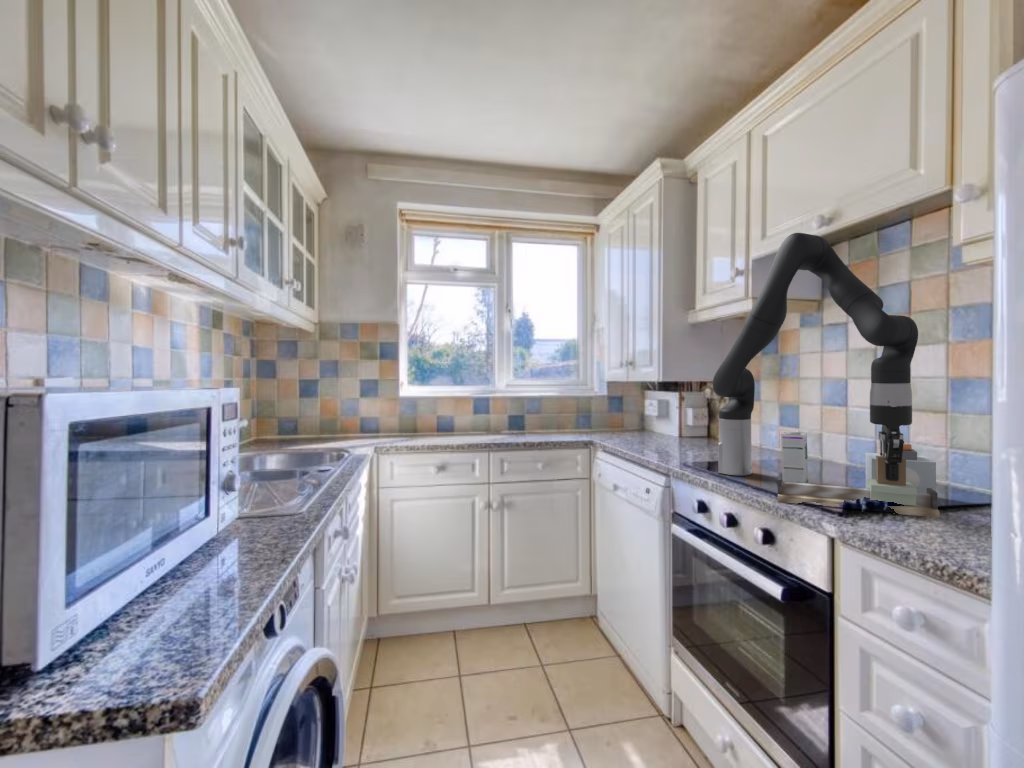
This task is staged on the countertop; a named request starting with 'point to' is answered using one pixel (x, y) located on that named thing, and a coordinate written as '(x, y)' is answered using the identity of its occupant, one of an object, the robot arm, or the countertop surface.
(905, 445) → the button
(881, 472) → the brown block on pedestal
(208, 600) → the countertop surface
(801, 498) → the rail base
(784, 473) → the syrup box
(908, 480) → the gauge cabinet
